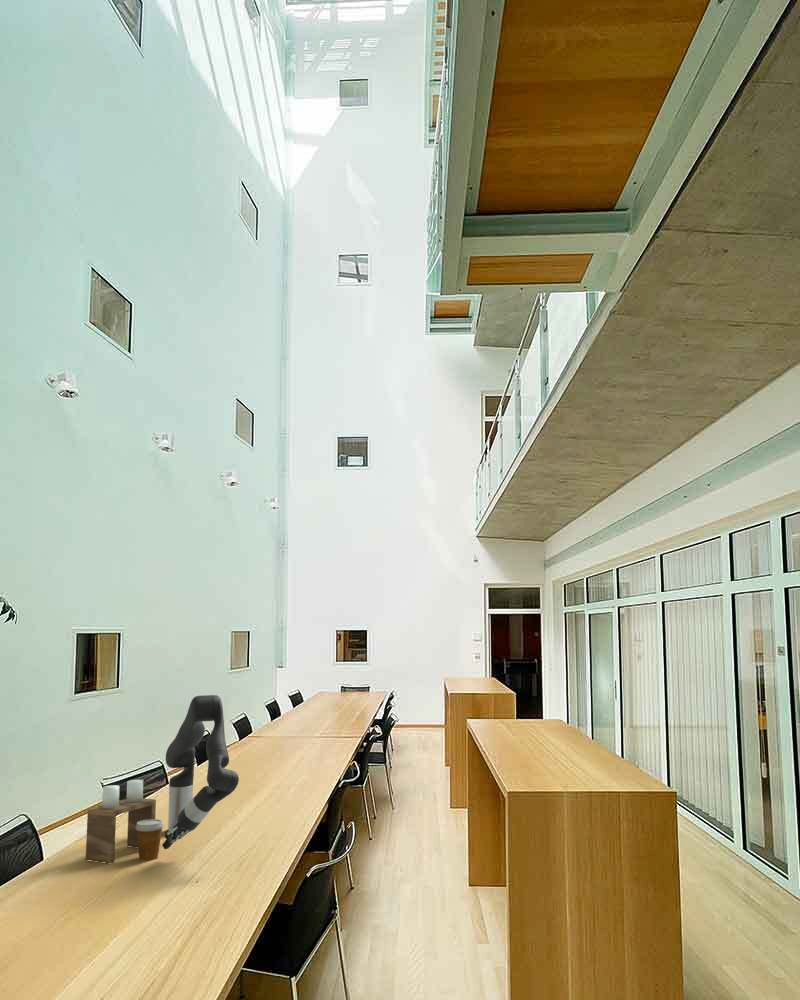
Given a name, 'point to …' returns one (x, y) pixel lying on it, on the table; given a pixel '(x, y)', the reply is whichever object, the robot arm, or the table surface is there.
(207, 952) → the table surface
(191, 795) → the robot arm
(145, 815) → the wooden bench stand
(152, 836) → the disposable coffee cup
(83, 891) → the table surface
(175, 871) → the table surface
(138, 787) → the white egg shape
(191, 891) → the table surface
